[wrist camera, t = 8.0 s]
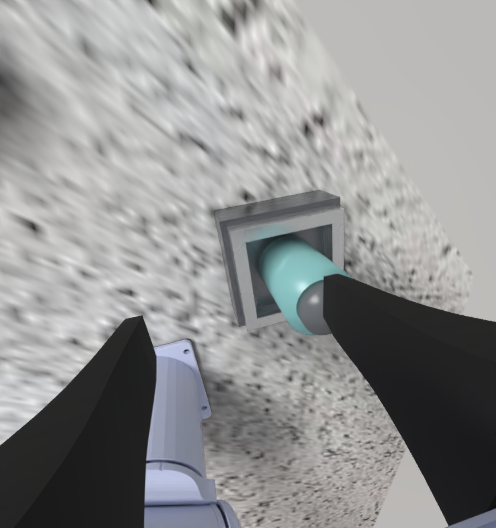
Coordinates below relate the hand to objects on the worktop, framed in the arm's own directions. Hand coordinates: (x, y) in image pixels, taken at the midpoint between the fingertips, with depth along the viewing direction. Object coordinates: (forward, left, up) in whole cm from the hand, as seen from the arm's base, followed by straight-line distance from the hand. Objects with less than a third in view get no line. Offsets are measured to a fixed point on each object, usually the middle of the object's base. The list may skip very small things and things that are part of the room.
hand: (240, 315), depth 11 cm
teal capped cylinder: (-2, -4, -7) cm, 9 cm away
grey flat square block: (-2, -4, -10) cm, 12 cm away
